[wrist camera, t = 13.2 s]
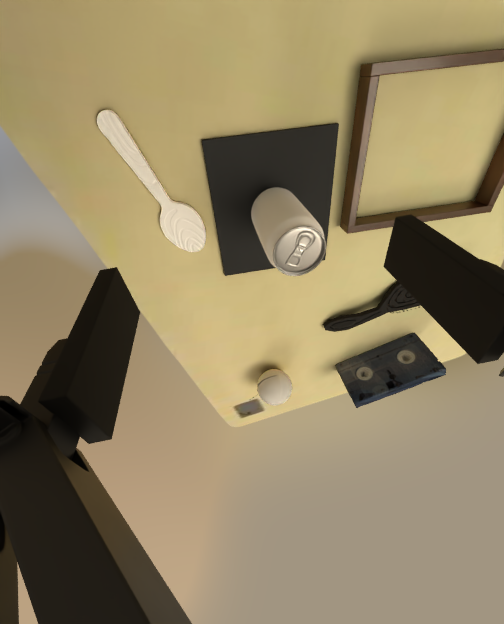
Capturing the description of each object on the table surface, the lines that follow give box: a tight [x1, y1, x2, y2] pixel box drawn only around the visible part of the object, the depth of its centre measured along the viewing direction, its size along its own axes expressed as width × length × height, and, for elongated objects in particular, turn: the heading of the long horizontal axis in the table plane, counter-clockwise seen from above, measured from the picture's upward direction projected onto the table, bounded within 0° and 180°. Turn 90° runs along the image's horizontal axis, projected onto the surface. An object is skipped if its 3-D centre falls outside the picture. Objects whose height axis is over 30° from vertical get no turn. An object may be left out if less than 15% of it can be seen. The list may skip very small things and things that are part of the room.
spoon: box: [97, 109, 206, 252], centre depth 34 cm, size 5×18×1 cm, turn 26°
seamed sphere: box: [250, 369, 292, 405], centre depth 58 cm, size 10×7×7 cm
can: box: [251, 187, 326, 276], centre depth 33 cm, size 6×6×12 cm
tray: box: [340, 49, 504, 234], centre depth 35 cm, size 18×22×2 cm
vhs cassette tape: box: [336, 333, 446, 408], centre depth 58 cm, size 18×3×10 cm, turn 114°
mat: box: [202, 123, 339, 276], centre depth 38 cm, size 18×16×1 cm
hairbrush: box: [323, 282, 420, 332], centre depth 51 cm, size 8×4×25 cm
